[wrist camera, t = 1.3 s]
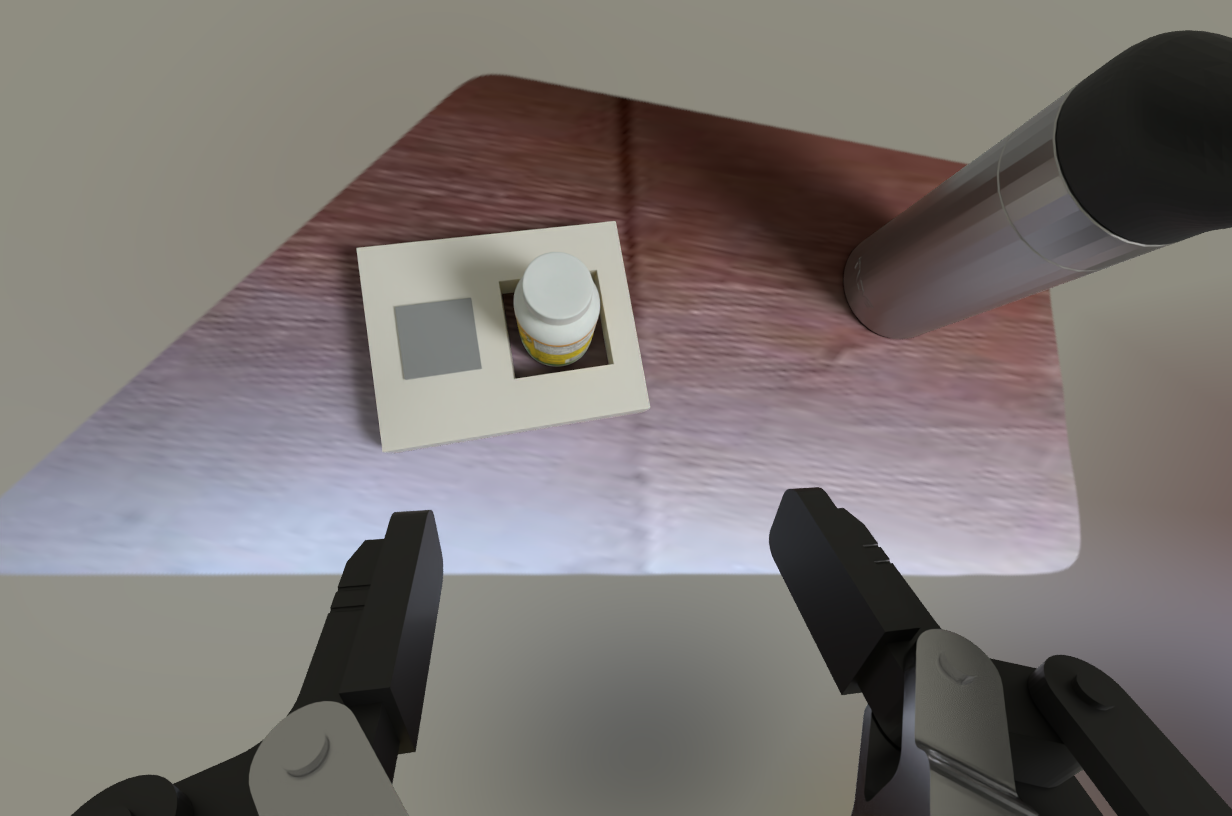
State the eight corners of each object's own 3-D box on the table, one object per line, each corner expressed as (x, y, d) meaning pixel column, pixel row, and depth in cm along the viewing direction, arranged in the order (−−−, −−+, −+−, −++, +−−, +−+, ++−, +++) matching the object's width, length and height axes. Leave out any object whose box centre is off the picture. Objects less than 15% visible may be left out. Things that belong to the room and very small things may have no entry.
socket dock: (611, 237, 38) (615, 219, 35) (643, 412, 37) (650, 407, 34) (369, 263, 35) (355, 246, 33) (394, 453, 34) (381, 452, 31)
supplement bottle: (586, 372, 37) (599, 339, 27) (514, 362, 36) (502, 324, 27) (595, 304, 37) (610, 248, 28) (525, 293, 37) (516, 232, 27)
